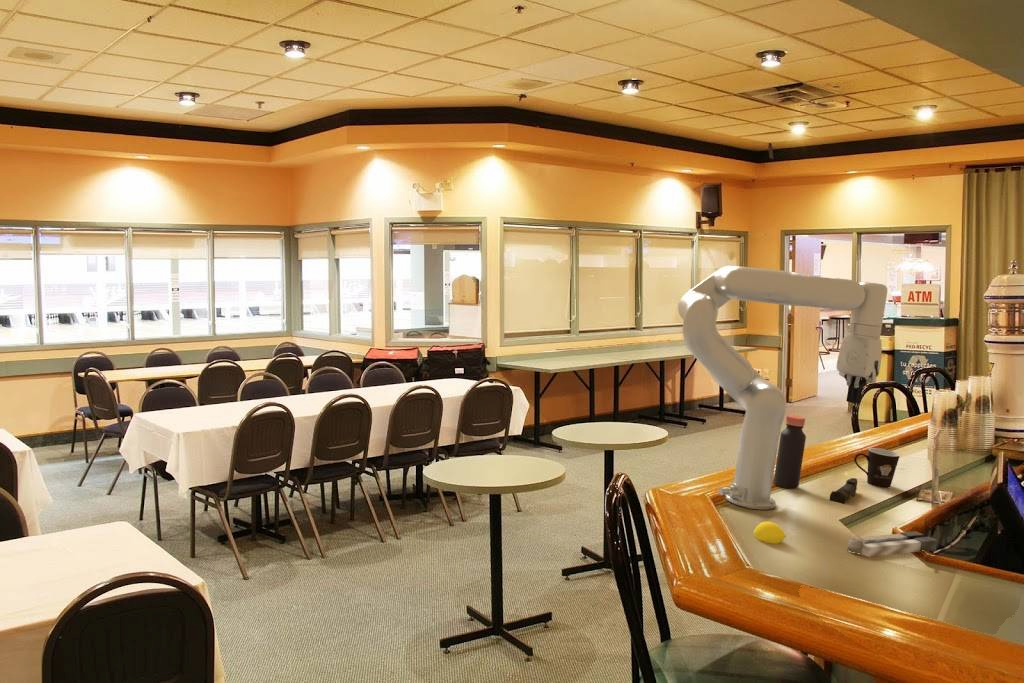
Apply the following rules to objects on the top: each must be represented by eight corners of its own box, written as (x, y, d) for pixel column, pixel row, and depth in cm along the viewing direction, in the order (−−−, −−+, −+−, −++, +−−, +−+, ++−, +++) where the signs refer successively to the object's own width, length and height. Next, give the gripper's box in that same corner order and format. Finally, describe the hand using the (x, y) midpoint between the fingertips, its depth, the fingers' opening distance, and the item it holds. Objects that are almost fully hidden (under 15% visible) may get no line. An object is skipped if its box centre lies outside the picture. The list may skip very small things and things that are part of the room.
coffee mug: (896, 485, 246) (901, 453, 244) (892, 491, 239) (897, 458, 237) (855, 475, 252) (860, 444, 251) (850, 481, 245) (855, 449, 243)
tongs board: (871, 571, 172) (874, 554, 172) (801, 536, 190) (803, 520, 190) (959, 561, 184) (962, 544, 184) (885, 528, 202) (887, 514, 202)
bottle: (803, 488, 232) (813, 419, 229) (788, 490, 228) (798, 420, 225) (783, 480, 237) (793, 413, 235) (768, 482, 233) (778, 414, 231)
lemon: (750, 546, 181) (750, 522, 181) (756, 540, 186) (757, 517, 185) (782, 551, 177) (782, 527, 177) (788, 545, 182) (788, 521, 182)
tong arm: (864, 551, 181) (866, 539, 180) (856, 547, 183) (858, 536, 182) (921, 545, 189) (923, 534, 188) (913, 541, 191) (915, 531, 190)
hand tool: (843, 508, 217) (846, 491, 216) (828, 503, 219) (831, 487, 219) (863, 495, 232) (866, 479, 231) (849, 491, 234) (851, 476, 234)
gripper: (830, 326, 212) (820, 395, 214) (878, 335, 198) (866, 409, 201) (851, 327, 215) (840, 396, 217) (899, 336, 202) (887, 409, 204)
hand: (853, 402), depth 209 cm, fingers closed
